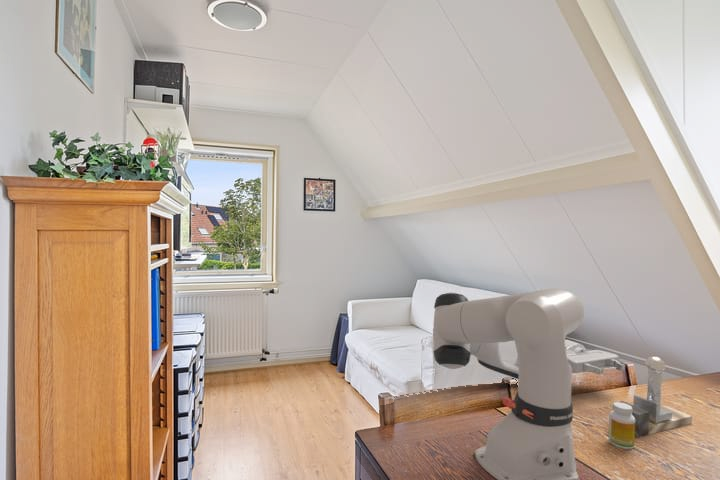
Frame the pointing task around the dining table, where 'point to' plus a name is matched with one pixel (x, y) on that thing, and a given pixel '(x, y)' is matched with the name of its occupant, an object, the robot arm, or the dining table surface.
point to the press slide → (653, 392)
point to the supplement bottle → (622, 426)
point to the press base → (648, 427)
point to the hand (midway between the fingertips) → (612, 369)
